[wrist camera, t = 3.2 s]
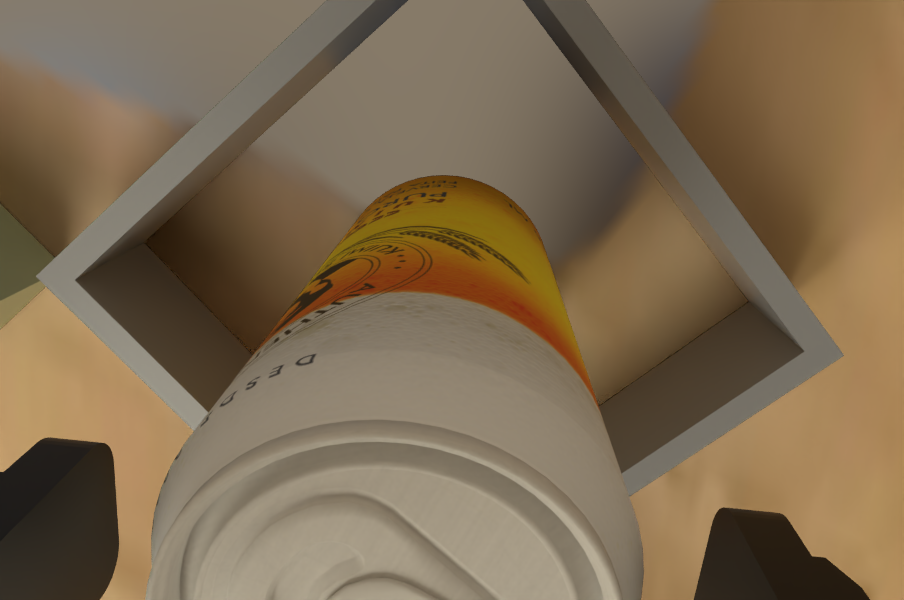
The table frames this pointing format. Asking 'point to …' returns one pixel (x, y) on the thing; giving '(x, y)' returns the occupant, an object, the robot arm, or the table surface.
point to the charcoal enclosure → (634, 112)
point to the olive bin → (18, 266)
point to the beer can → (407, 430)
